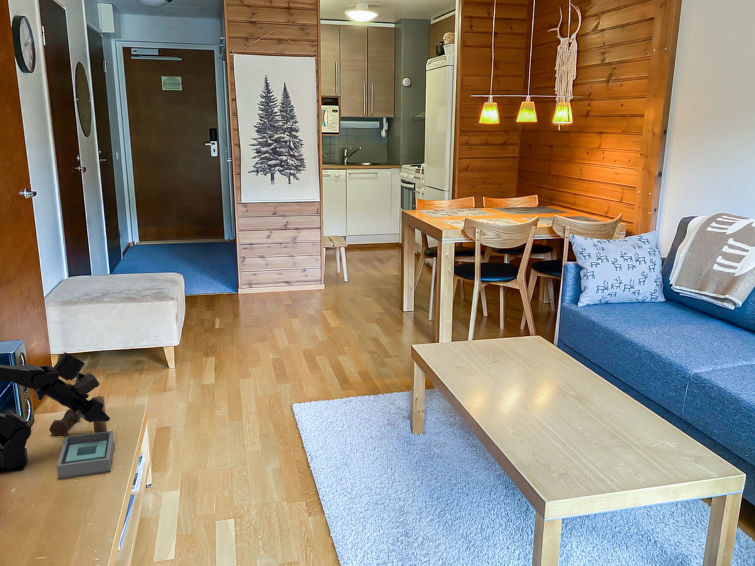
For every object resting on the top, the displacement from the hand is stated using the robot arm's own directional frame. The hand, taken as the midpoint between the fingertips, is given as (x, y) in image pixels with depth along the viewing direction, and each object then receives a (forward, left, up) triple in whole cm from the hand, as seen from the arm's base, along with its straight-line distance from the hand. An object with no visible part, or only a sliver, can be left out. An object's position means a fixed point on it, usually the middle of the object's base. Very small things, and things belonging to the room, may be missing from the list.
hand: (102, 415), depth 192 cm
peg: (-1, 0, -7) cm, 7 cm away
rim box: (-3, -14, -7) cm, 16 cm away
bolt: (-11, +11, -8) cm, 17 cm away
